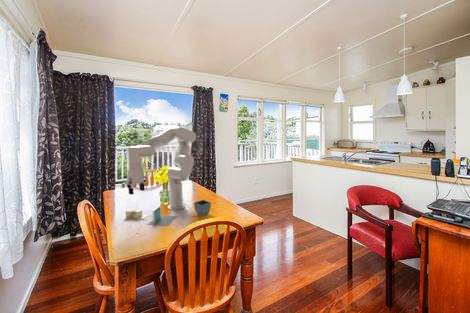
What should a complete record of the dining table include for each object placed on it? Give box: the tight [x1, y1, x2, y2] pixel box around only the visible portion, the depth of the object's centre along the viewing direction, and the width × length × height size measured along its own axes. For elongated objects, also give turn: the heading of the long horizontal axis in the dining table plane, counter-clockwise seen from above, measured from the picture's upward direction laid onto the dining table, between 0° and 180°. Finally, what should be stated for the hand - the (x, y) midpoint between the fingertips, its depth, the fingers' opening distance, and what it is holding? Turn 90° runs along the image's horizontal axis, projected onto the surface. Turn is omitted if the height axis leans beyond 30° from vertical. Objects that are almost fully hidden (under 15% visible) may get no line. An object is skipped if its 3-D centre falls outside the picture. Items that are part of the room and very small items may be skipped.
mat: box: [146, 214, 178, 227], centre depth 147 cm, size 16×14×1 cm
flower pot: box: [193, 199, 212, 217], centre depth 158 cm, size 9×9×9 cm
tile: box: [152, 205, 162, 223], centre depth 147 cm, size 8×1×8 cm, turn 173°
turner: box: [125, 209, 153, 221], centre depth 152 cm, size 17×7×5 cm, turn 83°
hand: (136, 192), depth 144 cm, fingers open, 9 cm apart
